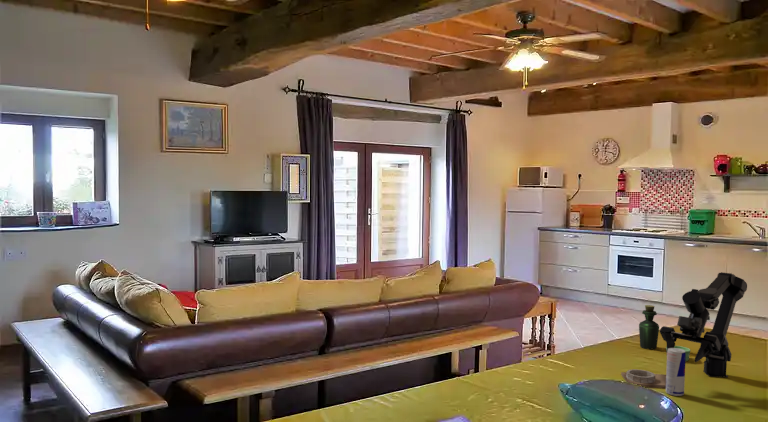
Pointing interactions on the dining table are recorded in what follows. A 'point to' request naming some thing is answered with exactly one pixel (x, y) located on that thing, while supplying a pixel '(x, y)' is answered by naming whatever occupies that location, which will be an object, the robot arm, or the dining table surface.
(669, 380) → the beverage can
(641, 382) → the board
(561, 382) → the dining table surface
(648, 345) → the potion bottle
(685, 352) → the ramekin
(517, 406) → the dining table surface
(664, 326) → the robot arm
